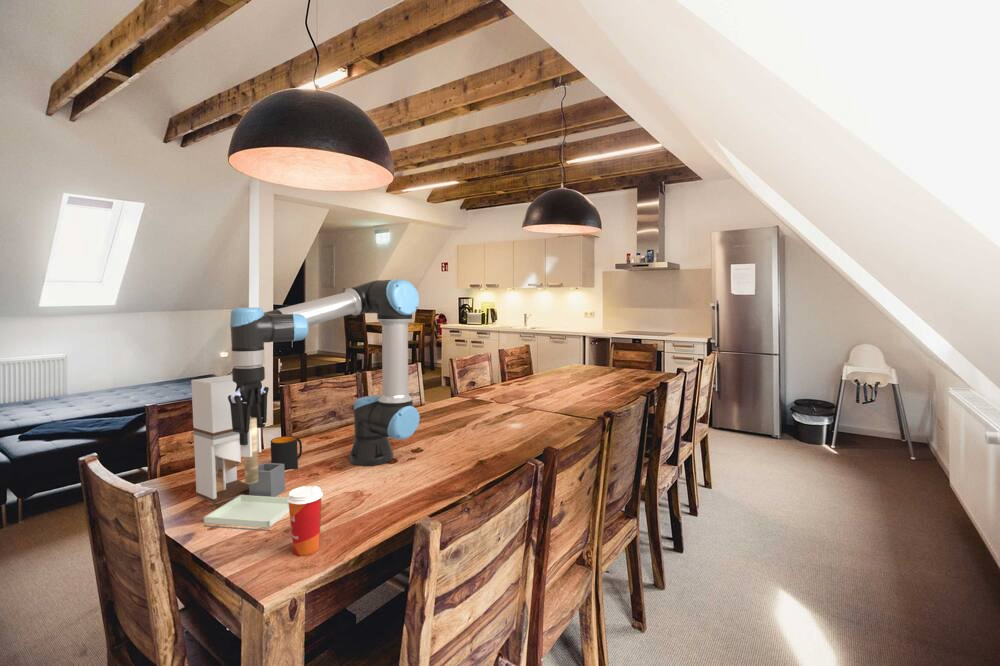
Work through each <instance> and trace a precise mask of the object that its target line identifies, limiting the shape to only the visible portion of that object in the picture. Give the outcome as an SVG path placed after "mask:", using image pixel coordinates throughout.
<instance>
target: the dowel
mask: <svg viewBox="0 0 1000 666" xmlns="http://www.w3.org/2000/svg"><path fill="white" fill-rule="evenodd" d="M249 432H252V457H243V459H244V464H243V465H244V483H246V484H253V483H256V482H258V481H259V476H258V465H259V453H258V443H257V418H256V417H250V425H249Z"/></svg>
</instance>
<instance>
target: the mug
mask: <svg viewBox="0 0 1000 666" xmlns="http://www.w3.org/2000/svg"><path fill="white" fill-rule="evenodd" d="M298 443H299V445H298ZM302 444H303V442H302V440H301V439H300V438H298V437H296V436H294V435H292V436H291V435H286V436H284V435H283V436H278V437H275V438H272V439H271V440H270V459H271V460H270V463H278V464H284V469H285V471H287V470H298V468H299V459H300V458H301V457H302V453H303V445H302ZM298 446H299V452H298Z"/></svg>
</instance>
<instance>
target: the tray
mask: <svg viewBox="0 0 1000 666" xmlns="http://www.w3.org/2000/svg"><path fill="white" fill-rule="evenodd" d="M287 498H288V497H283V496H281V497H280V496H276V497H267V496H251V495H249V494H243V495H239V496H237V497H234V498H232V499H230V500H229V501H227V502H226V503H225V504H223V505H221V506H220V507H218V508H216V509H215V510H213V511H211V512H210V513H208V514H206V515H205V516H203V523H204V524H206V525H203V527H205V528H218V529H231V530H243V531H244V530H247V531H262V532H270V531H271V529H269V528H270V527H272V526H273V525H275V524H276V523H277V522H279V521H280V520H281V519H282V518H283V517H284V516H286V515H287V514H288V513H289V514H290V512H289V502H288V501H287ZM207 524H213V525H207ZM223 525H224V526H223ZM225 525H227V526H225ZM233 526H235V527H233ZM236 526H240V527H236ZM242 526H243V527H242ZM247 527H248V528H247ZM249 527H255V528H249ZM264 528H268V529H264Z"/></svg>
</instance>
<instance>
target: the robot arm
mask: <svg viewBox="0 0 1000 666" xmlns="http://www.w3.org/2000/svg"><path fill="white" fill-rule="evenodd" d="M419 304H420V295H419V292H418V290H417V289H416V287H415V286H414V284H413V283H411V282H410V281H408V280H406V279H386V280H385V279H383V280H378V279H376V280H373V281H372V280H371V281H369V282H368V281H367V282H365V283H361V284H359V285H355V286H353V287H349V288H346V289H345V290H344V292H342V293H338V294H334V295H329V296H326V297H325V296H324V297H322V298H317V299H313V300H309V301H304V302H301V303H297V304H293V305H292V304H291V305H289V306H285V307H281V308H277V309H273V310H269V311H265V312H264V309H263V308H262V307H234V308H232V309H231V312H230V323H229V327H230V339H231V365H232V366H233V367H232V370H231V372H232V373H231V375H232V379H233V382H235V383H236V384H237V386H236V390H235V393H234V394H233V395H229V396H228V400H229V403H230V408H231V418H232V428H233V432H238V433H239V436H240V450H241V458H244V457H252V432H249V425H250V417H256V418H257V443H258V454H259V453H261V452H262V428H265V427H266V423H267V421H268V418H267V416H268V393H269V390H270V388H269V387H268V386H263V384H262V381H264V380H265V379H266V378H265V377H266V373H265V371H266V370H265V367H264V366H263V365H265V364H266V363H265V343H277V342H278V343H279V342H280V343H281V342H295V341H296V342H298V341H303V340H305V339H306V337H307V336H308V334H309V327H310V326H314V325H317V324H321V323H324V322H328V321H331V320H334V319H338V318H342V317H345V316H349V315H352V316H360V315H363V314H377V315H376V316H377V317H376V318H377V321H378V323H380V324H381V346H382V347H381V348H382V349H381V353H382V355H381V357H382V359H381V360H382V362H381V363H382V368H381V369H382V371H381V372H382V394H376V395H369V396H362V397H359V398H356V399H355V400H354V403H353V417H354V420H353V421H354V422H353V423H354V440H353V444H352V448H351V449H350V453H349V454H350V455H349V462H350V463H351V464H352V465H355V466H363V467H367V466H369V467H370V466H378V465H383V464H386V463H388V462H390V461H392V460H393V458H394V450H393V447H392V444H391V442H390V440H389V439H392V440H399V441H400V440H401V441H402V440H407V439H408V438H409V439H410V437H412V435H414V434H415V432H416V431H417V429H418V427H419V426H420V425H419V424H420V418H421V415H420V413H419V411H418V409H417V408H416V407H415V406H414V404H413V401H414V400H413V399H414V398H413V396H411V395H410V394H409V335H408V334H409V333H408V332H409V324H410V322H412V320H413V314H414V313H415V312H416V311H417V309H418V308H419ZM243 402H245V403H243Z"/></svg>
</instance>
